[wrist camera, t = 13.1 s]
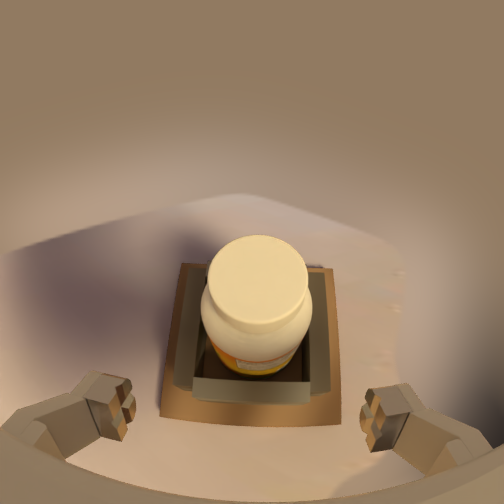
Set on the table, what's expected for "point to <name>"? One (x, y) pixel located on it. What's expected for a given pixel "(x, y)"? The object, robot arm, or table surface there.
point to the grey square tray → (248, 390)
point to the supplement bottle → (256, 305)
